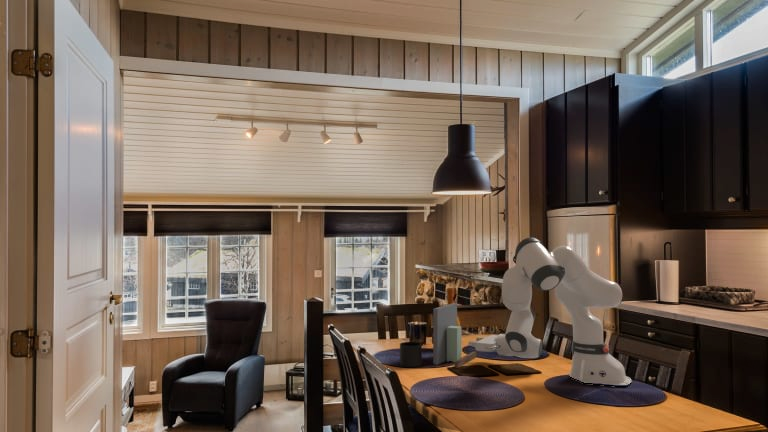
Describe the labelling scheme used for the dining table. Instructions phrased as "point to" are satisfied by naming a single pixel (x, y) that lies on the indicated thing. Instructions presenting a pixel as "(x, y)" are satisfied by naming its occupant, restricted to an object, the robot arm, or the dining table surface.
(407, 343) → the mug
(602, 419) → the dining table surface
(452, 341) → the sage-green cabinet block
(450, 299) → the amber bottle
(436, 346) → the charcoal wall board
